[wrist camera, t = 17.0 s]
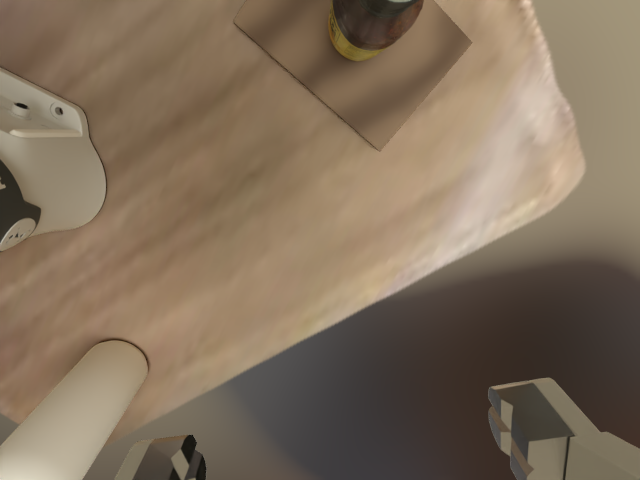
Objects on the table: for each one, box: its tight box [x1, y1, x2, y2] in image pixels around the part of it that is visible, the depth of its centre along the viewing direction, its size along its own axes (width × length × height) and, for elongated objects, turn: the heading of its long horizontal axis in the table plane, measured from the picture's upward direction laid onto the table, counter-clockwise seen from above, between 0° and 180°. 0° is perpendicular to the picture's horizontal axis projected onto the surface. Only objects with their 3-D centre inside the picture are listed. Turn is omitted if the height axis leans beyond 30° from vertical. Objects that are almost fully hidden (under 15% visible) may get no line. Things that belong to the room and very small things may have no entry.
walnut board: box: [233, 0, 472, 151], centre depth 35 cm, size 20×14×2 cm
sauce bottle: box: [328, 0, 424, 61], centre depth 25 cm, size 7×6×20 cm
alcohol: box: [0, 340, 148, 480], centre depth 36 cm, size 9×9×30 cm
